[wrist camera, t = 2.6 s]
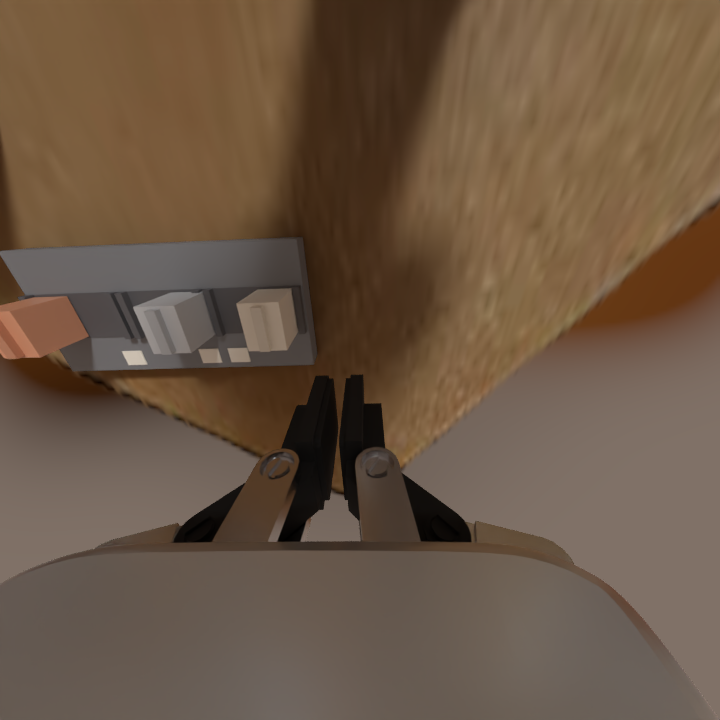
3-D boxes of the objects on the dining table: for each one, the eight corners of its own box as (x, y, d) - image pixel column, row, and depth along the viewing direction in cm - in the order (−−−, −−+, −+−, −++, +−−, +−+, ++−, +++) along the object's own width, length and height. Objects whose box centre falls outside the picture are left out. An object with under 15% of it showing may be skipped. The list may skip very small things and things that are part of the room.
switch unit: (302, 236, 24) (294, 239, 22) (317, 355, 30) (312, 370, 27) (29, 248, 25) (-14, 252, 22) (94, 361, 31) (66, 376, 28)
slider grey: (205, 291, 24) (168, 308, 20) (217, 332, 26) (187, 356, 22) (170, 292, 24) (126, 309, 20) (185, 333, 26) (148, 357, 22)
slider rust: (66, 296, 25) (0, 313, 20) (89, 336, 26) (32, 360, 22) (33, 297, 25) (-41, 315, 20) (58, 337, 27) (-5, 361, 22)
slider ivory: (292, 288, 24) (275, 304, 19) (299, 329, 26) (285, 353, 21) (257, 289, 24) (232, 306, 20) (266, 330, 26) (245, 354, 21)
